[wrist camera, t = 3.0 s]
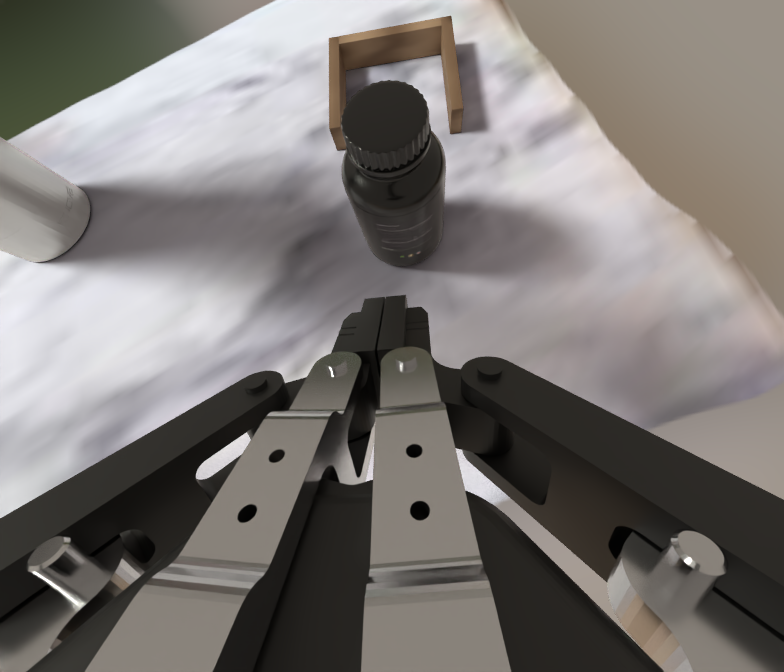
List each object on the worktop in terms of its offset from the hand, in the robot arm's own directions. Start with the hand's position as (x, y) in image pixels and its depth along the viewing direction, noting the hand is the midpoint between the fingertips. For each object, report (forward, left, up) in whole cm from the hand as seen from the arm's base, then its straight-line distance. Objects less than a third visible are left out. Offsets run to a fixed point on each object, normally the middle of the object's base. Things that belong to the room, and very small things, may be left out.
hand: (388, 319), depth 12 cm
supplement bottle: (0, +12, -14) cm, 19 cm away
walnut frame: (0, +27, -14) cm, 31 cm away
